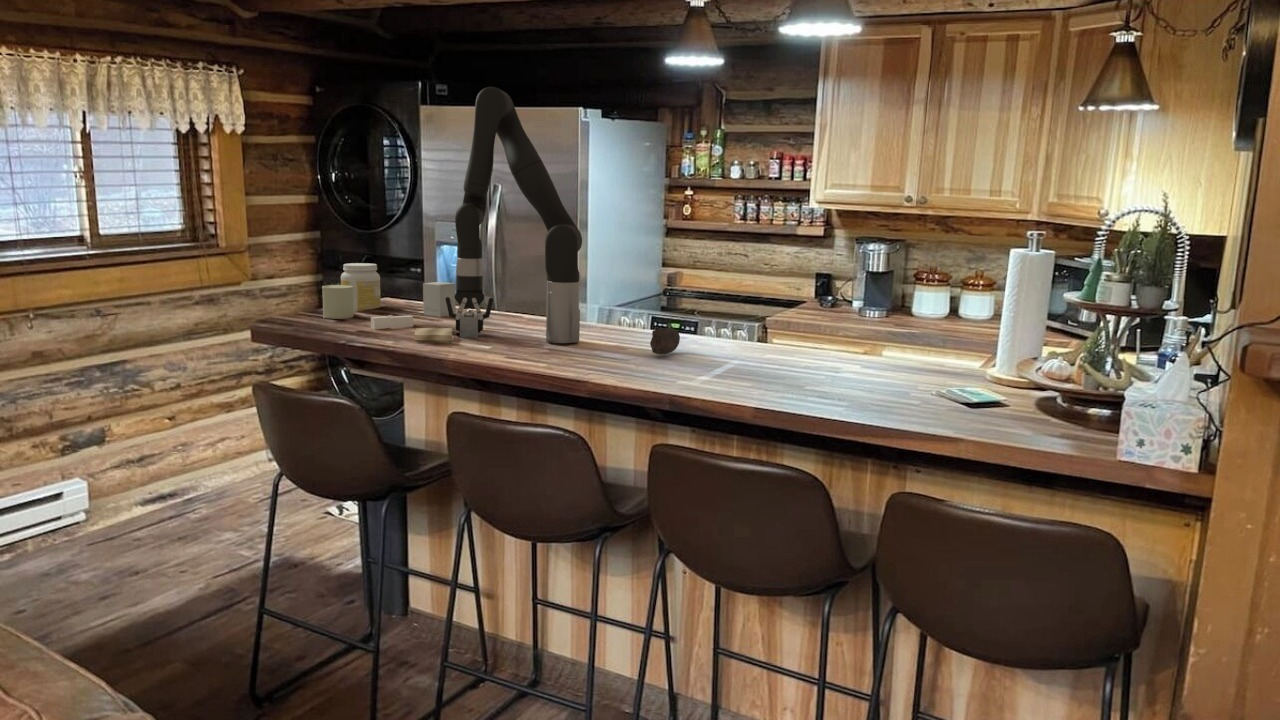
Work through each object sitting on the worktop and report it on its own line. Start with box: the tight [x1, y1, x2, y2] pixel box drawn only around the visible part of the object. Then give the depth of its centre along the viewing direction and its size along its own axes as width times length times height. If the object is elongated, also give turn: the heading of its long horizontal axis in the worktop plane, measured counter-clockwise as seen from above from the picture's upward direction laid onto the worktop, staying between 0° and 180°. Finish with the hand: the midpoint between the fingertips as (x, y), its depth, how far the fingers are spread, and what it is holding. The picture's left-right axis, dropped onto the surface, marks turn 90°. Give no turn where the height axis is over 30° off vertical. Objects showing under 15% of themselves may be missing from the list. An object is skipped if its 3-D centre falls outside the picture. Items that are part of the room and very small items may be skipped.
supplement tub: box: [340, 262, 382, 313], centre depth 307 cm, size 12×12×17 cm
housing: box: [459, 309, 480, 339], centre depth 276 cm, size 5×9×7 cm, turn 8°
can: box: [321, 284, 355, 320], centre depth 289 cm, size 9×9×12 cm
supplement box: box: [422, 281, 457, 318], centre depth 299 cm, size 7×7×13 cm
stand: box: [413, 327, 453, 345], centre depth 266 cm, size 10×13×2 cm
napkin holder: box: [370, 314, 414, 330], centre depth 276 cm, size 15×11×6 cm
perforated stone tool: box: [649, 327, 681, 355], centre depth 258 cm, size 15×5×7 cm, turn 153°
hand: (469, 332), depth 276 cm, fingers closed on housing, 5 cm apart
